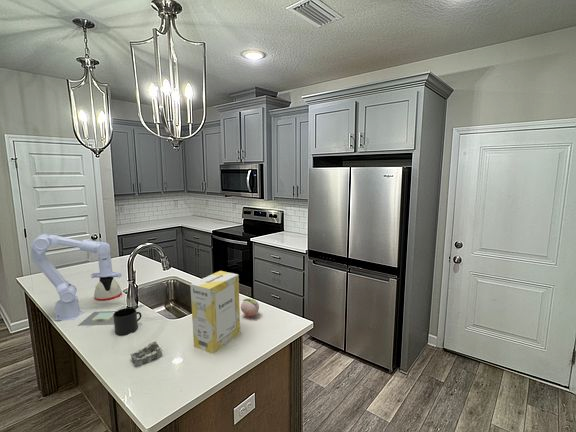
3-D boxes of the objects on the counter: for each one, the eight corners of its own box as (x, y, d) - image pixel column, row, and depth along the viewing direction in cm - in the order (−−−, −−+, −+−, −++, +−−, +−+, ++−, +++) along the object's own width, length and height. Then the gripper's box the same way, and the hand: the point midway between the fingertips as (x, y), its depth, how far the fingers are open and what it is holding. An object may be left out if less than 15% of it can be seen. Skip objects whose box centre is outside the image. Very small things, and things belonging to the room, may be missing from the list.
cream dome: (88, 299, 176) (85, 274, 173) (110, 290, 188) (108, 266, 186) (106, 303, 171) (103, 277, 168) (127, 293, 183) (124, 269, 181)
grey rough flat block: (157, 349, 128) (156, 340, 128) (163, 357, 123) (163, 348, 122) (130, 359, 122) (129, 350, 121) (135, 368, 116) (134, 359, 115)
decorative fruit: (262, 314, 157) (262, 296, 155) (254, 321, 150) (253, 302, 148) (247, 310, 161) (246, 293, 159) (238, 318, 154) (237, 299, 152)
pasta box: (212, 353, 125) (209, 289, 120) (194, 346, 130) (190, 284, 125) (240, 332, 140) (238, 274, 136) (222, 326, 145) (220, 270, 141)
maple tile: (100, 314, 156) (92, 321, 149) (99, 312, 156) (91, 319, 149) (116, 314, 157) (109, 321, 150) (115, 312, 157) (108, 318, 150)
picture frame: (77, 326, 146) (77, 325, 146) (94, 312, 160) (94, 311, 160) (116, 325, 147) (116, 324, 147) (129, 311, 161) (129, 310, 161)
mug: (147, 327, 145) (145, 309, 144) (120, 338, 136) (118, 319, 134) (137, 320, 151) (136, 303, 149) (111, 331, 142) (109, 313, 140)
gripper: (123, 262, 164) (125, 286, 167) (95, 263, 164) (98, 287, 166) (116, 267, 157) (119, 292, 160) (87, 267, 157) (90, 292, 159)
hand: (108, 290), depth 162 cm, fingers closed
